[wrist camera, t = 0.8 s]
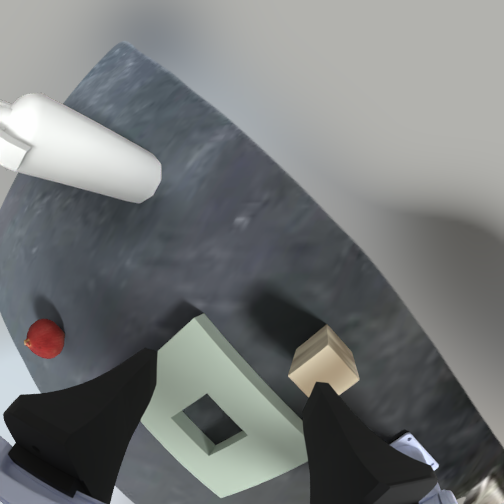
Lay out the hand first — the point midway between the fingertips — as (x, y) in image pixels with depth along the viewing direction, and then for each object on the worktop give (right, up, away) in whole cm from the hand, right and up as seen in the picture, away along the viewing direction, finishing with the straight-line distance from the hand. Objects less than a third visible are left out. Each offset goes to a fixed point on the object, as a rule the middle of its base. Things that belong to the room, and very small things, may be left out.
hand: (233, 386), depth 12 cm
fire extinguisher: (-13, +15, +21) cm, 29 cm away
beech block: (+8, -4, +15) cm, 18 cm away
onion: (-28, -7, +24) cm, 37 cm away
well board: (-3, -13, +18) cm, 23 cm away
